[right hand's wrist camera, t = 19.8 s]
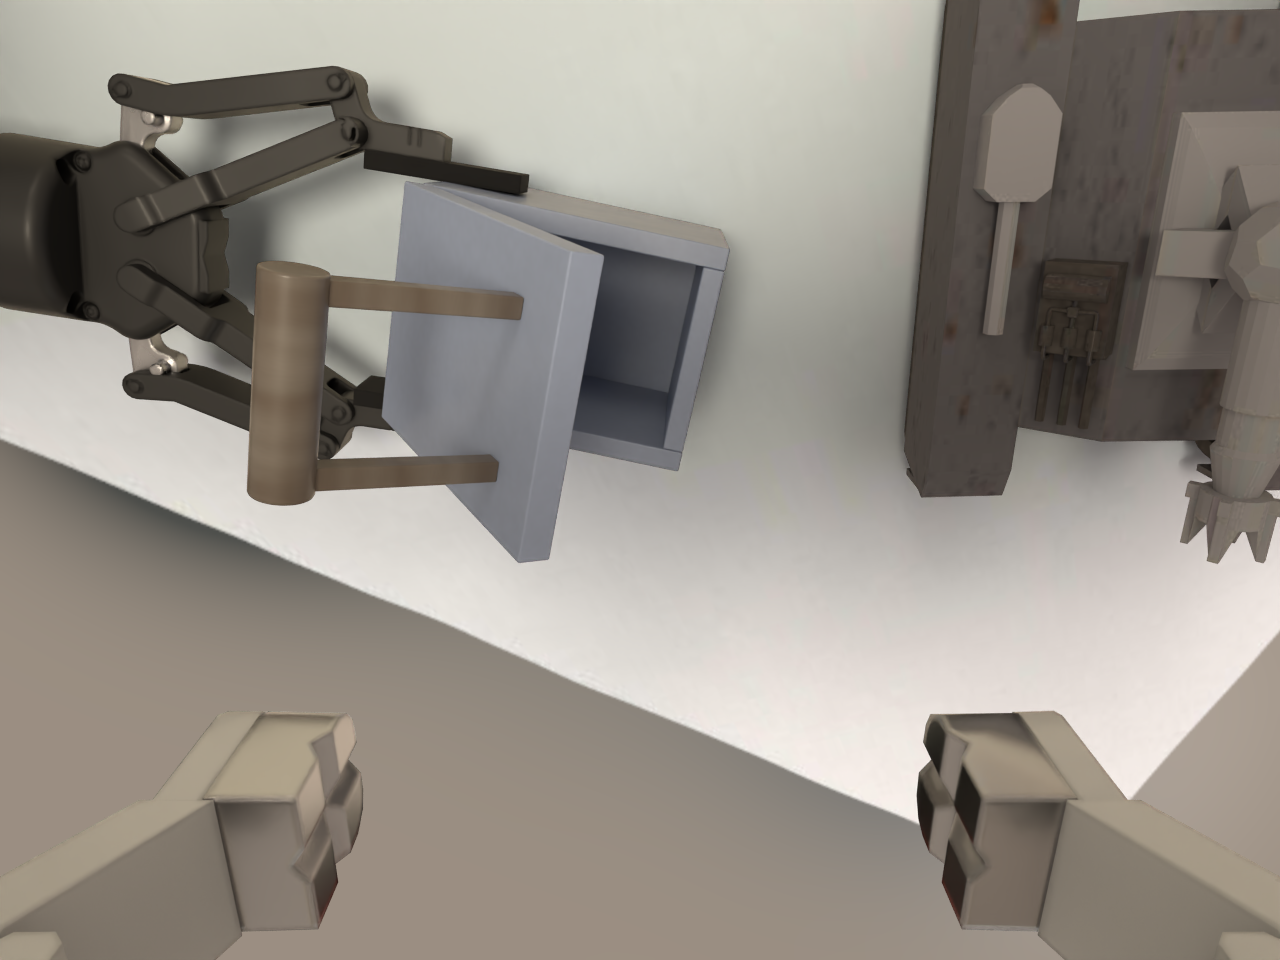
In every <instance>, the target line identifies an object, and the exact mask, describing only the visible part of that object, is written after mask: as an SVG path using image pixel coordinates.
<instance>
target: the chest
mask: <svg viewBox="0 0 1280 960" xmlns="http://www.w3.org/2000/svg"><path fill="white" fill-rule="evenodd" d="M424 184H426V185H432V186H434V187H437V188H439V189H442V190H444V191H447V192H449V193H451V194H454V195H456V196H459V197H461V198H464V199H466V200H469V201H471V202H474V203H476V204H479V205H481V206H484V207H486V208H488V209H491V210H493V211H496V212H498V213H501V214H503V215H506V216H508V217H511V218H513V219H516V220H518V221H520V222H523V223H525V224H528V225H530V226H533V227H535V228H538V229H540V230H543V231H545V232H548V233H550V234H553V235H555V236H557V237H560V238H562V239H565V240H567V241H570V242H572V243H575V244H577V245H580V246H582V247H585V248H587V249H590V250H592V251H594V252H597V253H599V254H602V255H603V256H604V261H603V267H602V272H601V278H600V283H599V289H598V294H597V300H596V305H595V311H594V316H593V321H592V327H591V332H590V338H589V343H588V349H587V354H586V360H585V365H584V370H583V376H582V381H581V387H580V392H579V398H578V403H577V409H576V414H575V420H574V425H573V430H572V436H571V441H570V447H569V449H574V450H579V451H583V452H588V453H593V454H598V455H602V456H607V457H612V458H617V459H621V460H626V461H631V462H636V463H640V464H645V465H650V466H655V467H659V468H664V469H669V470H674V471H678V470H679V465H680V461H681V457H682V451H683V448H684V444H685V439H686V435H687V431H688V427H689V422H690V418H691V414H692V410H693V405H694V401H695V397H696V392H697V388H698V384H699V380H700V375H701V371H702V367H703V362H704V358H705V354H706V350H707V345H708V341H709V337H710V333H711V328H712V324H713V320H714V315H715V311H716V307H717V303H718V298H719V294H720V290H721V285H722V281H723V277H724V271H725V269H726V264H727V260H728V256H729V251H730V249H729V247H728V245H727V242H726V240H725V238H724V235H723V233H722V231H721V230H720V229H717V228H712V227H708V226H703V225H698V224H694V223H689V222H685V221H680V220H675V219H671V218H666V217H662V216H657V215H652V214H648V213H643V212H638V211H634V210H629V209H625V208H620V207H615V206H611V205H606V204H601V203H597V202H592V201H588V200H583V199H578V198H574V197H569V196H564V195H560V194H555V193H551V192H546V191H541V190H537V189H532V188H528V192H526V193H522V194H515V193H509V192H503V191H497V190H491V189H485V188H479V187H473V186H467V185H461V184H455V183H449V182H432V183H424Z"/></svg>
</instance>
